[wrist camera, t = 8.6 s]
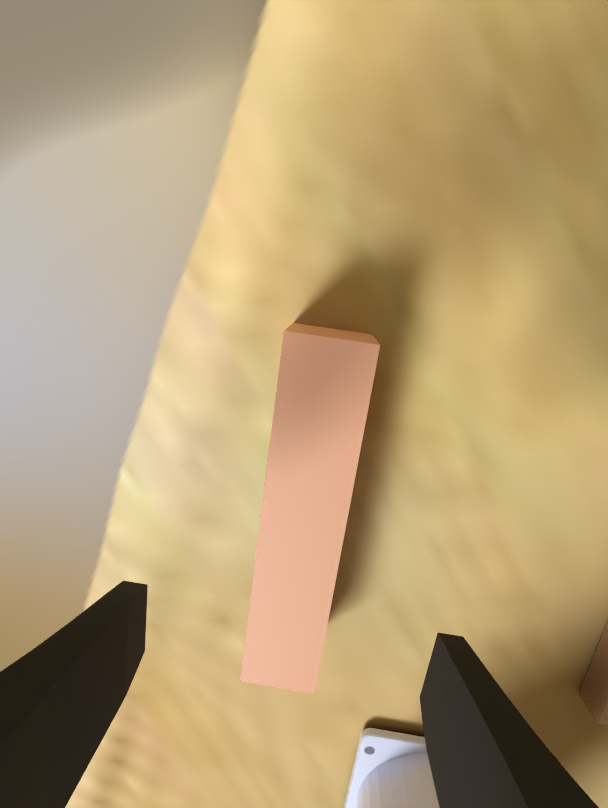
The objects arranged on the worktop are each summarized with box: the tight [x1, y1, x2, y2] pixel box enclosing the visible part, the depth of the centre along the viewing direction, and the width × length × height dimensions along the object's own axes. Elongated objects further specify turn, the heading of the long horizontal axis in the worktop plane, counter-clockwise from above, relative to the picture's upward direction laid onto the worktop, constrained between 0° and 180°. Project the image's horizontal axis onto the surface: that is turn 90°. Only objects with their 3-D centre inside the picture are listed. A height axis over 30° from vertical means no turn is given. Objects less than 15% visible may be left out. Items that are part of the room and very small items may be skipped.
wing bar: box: [240, 323, 380, 694], centre depth 17 cm, size 14×3×4 cm, turn 172°
